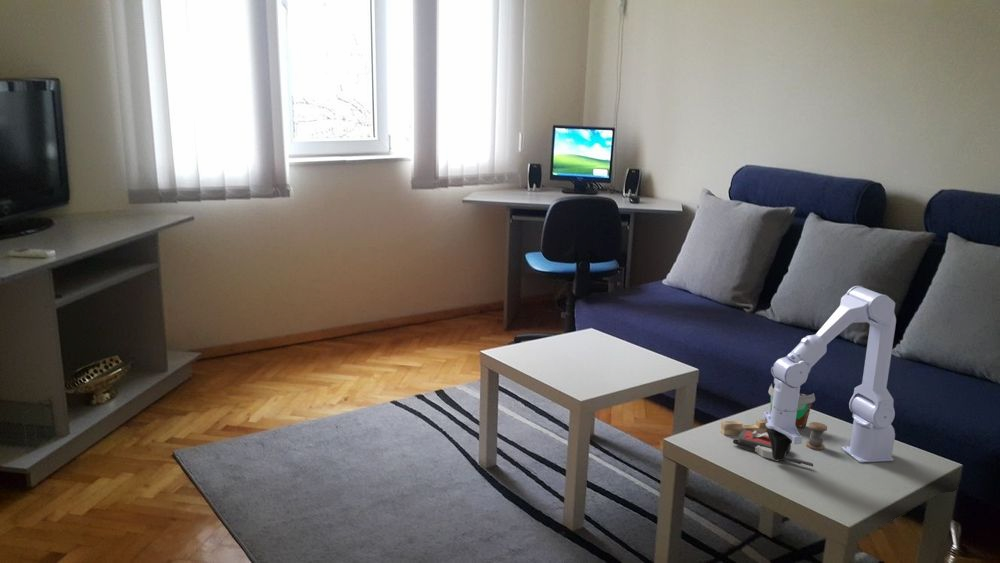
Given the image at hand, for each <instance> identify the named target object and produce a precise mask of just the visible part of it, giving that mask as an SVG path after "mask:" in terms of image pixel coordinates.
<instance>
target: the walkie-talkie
mask: <svg viewBox="0 0 1000 563" xmlns="http://www.w3.org/2000/svg"><path fill="white" fill-rule="evenodd" d="M756 432H757V431H754V432H752V431H748V430H743V431H742V432H741V434H738V437H737V438H736V439H732V443H733V444H734V445H736V446H737V447H738V448H740V449H743V450H746V449H747V451H751V452H754V453H756V455H757V454H758V455H759V456H760V457H761V458H766V459H769V460H772V461H775V462H779V460H775V459H774V458H773V455H772V447H771V442H770V438H769V436H768V433H767V432H766V433H756ZM791 445H792V444H790V446H789V447H788V449H787V451H786V453H790V452H791V449H792V448H791V447H792V446H791ZM782 461H788V462H791V463H794V464H798V465H801V464H802V465H806V466H809V467H814V463H812V462H810V461H805V460H802V459H799V458H796V457H791V456H787V455H785V456H784V458H783V460H782Z"/></svg>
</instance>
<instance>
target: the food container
mask: <svg viewBox="0 0 1000 563" xmlns="http://www.w3.org/2000/svg"><path fill="white" fill-rule="evenodd" d="M774 387H775V386H773V383H771V384H770V386H769V389H768V394H769V396H770V412H771V411H772V403H773V395H774ZM815 401H816V395H815V393H811V394H805V393H801V392H799V400H798V407H797V414H796V422H795V425H796V427H797V430H802V429H804V428H806V427H807V423H808V419H809V416H810V411H811V408H812V403H814V402H815Z"/></svg>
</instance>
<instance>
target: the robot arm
mask: <svg viewBox="0 0 1000 563" xmlns="http://www.w3.org/2000/svg"><path fill="white" fill-rule="evenodd" d="M895 308H896V302H895V301H894V300H893V299H892V298H890V297H889V296H888V295H886V294H882V293H879V292H876V291H875V290H871V289H868V288H865V287H864V286H861V285H855V286H852V287H851V288H849V289H848V290H847V291H846V293H845V294H843V295H842V297H840V303H839V306H838V307H837V309H836V310H835V311H834V312H833V313H832V314H831V316H830V317H829V318H828V319H827V320H826V321H825V323H824V324H823V325H822V326H821V327H820V328H819V330H818V331H817V332H816V333H815V334H811V335H806V336H805V337H803V338H801V340H800V342H799V343H798V344H797V345H796V346H795V347H794V349H792V350H791V352H789V353H788V354H787V355H786V356H785V357H781V358H778V359H777V360H776V361H775V362H774V363H773V365H772V367H771V368H770V373H771V375H772V376H773V384H774V386H773V387H774V395H773V403H772V411H771V410H770V411H764V412H763V418H762V420H763V419H764V420H765V421H768V423H766V427H768V428H769V429H767V433H768V436H769V438H770V442H771V447H772V455H773V458H774V459H775V460H780V461H784V460H783V458H784V456H786V453H787V452H786V451H787V449H788V447H789V446H790V445H802V441H803V435H801V434H800V432H799V429H797V427H796V425H795V422H796V414H797V407H798V400H799V393H801V392H800V390H801V386H802V385H803V384H805V383H806V381H807V380H808V377H809V373H810V372H811V369H812V367H813V366H814V365H816V363H817V362H818V361H820V359H821V358H823V356H825V354H826V353H827V350H828V348H827V345H828V344H829V343H830V342H831V341H833V340H834V339H835V338H836V337H838V335H839V334H840V333H842V332H843V331H844V330H845V329H847V328H848V327H849V326H850V325H851V324H853V323H855V324H857V323H867V324H869V330H868V332H869V333H868V338H867V345H866V352H865V358H864V359H865V360H864V367H863V374H862V380H861V384H859V385H857V386H856V387H854V389H853V390H854V391H853V394H852V396H851V398H850V400H849V403H848V408H849V410H850V412H851V413H852V416H851V417H852V418H853V422H852V428H851V435H850V436H851V437H850V443H849V445H848V446H841V449H842V450H843V451H844V452H845V453H847V454H848V455H849V456H851V457H852V458H853V459H855V460H856V461H857V462H858V463H875V462H877V463H878V462H892V461H894V458H893V456H892V455H893V452H894V445H895V438H896V433H895V432H896V431H895V428H894V427H893V425H892V423H893V421H894V419H895V416H896V415H895V414H896V412H895V408H894V402H895V401H894V398H893V397H892V395H891V393H890V391H889V390H888V388H887V386H888V379H889V372H890V368H891V367H890V366H891V358H892V351H893V347H894V346H893V344H894V338H895V331H896V324H897V317H896V314H895ZM775 460H774V461H775Z"/></svg>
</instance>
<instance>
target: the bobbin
mask: <svg viewBox="0 0 1000 563" xmlns="http://www.w3.org/2000/svg"><path fill="white" fill-rule="evenodd" d="M808 428H809V429H810V435H809V440H807V441H806V443H805V446H806V447H807V448H809V449H811V450H814V451H823V450H824V449H825V444H824V443H823V438H824V432H826V431H827V430H828V426H827V425H826V424H824V423H821V422H816V421H813V422H812V421H811V422H809V423H808Z"/></svg>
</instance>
